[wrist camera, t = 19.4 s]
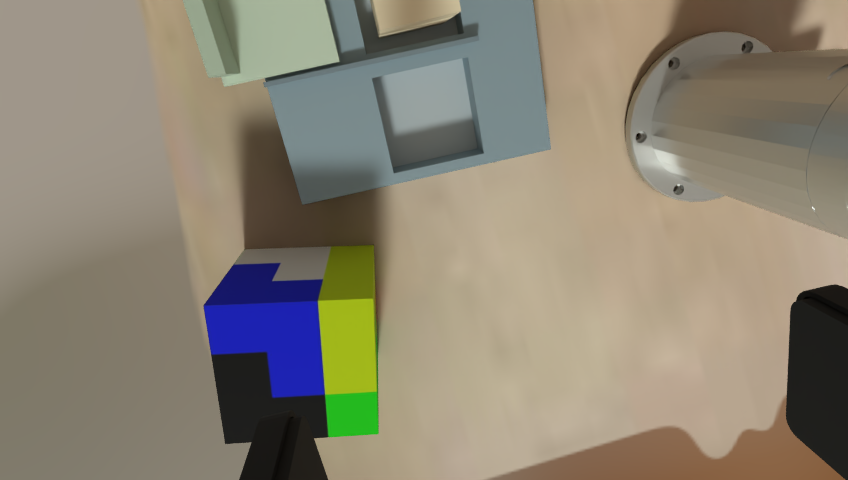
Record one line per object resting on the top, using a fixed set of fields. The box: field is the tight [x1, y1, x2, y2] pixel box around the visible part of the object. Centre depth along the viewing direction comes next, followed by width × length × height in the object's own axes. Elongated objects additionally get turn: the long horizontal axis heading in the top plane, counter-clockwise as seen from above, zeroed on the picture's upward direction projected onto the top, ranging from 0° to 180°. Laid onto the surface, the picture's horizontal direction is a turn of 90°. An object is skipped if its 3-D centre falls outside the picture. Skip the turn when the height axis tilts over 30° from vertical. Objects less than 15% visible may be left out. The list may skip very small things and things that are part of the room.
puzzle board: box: [263, 0, 551, 205], centre depth 34 cm, size 18×16×4 cm
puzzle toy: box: [204, 245, 378, 444], centre depth 37 cm, size 10×10×10 cm
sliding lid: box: [183, 0, 340, 87], centre depth 29 cm, size 7×7×4 cm
